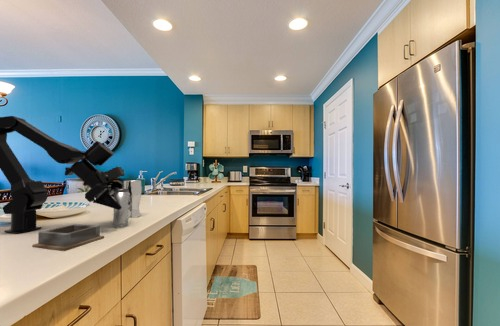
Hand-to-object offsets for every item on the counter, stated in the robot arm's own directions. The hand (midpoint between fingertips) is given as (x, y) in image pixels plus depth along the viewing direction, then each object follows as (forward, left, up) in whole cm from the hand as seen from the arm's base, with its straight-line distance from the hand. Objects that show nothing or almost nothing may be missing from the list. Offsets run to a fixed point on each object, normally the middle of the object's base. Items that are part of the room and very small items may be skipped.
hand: (125, 206), depth 81 cm
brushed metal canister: (-1, -1, -7) cm, 7 cm away
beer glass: (-10, +14, -7) cm, 19 cm away
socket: (0, -19, -7) cm, 20 cm away
